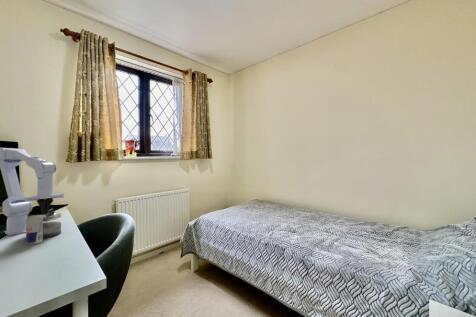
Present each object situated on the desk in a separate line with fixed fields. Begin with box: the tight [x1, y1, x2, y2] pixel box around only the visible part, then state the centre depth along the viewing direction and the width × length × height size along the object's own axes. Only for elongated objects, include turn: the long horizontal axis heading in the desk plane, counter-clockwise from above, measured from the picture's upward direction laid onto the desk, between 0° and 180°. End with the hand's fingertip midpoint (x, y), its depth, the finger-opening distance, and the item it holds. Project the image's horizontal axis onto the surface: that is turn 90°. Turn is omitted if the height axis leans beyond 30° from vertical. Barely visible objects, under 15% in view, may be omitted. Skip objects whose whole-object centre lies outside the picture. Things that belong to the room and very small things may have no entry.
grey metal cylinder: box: [26, 221, 62, 240], centre depth 107 cm, size 13×13×5 cm
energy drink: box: [25, 214, 44, 246], centre depth 97 cm, size 5×5×12 cm
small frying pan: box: [25, 210, 62, 224], centre depth 107 cm, size 19×13×1 cm
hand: (44, 214), depth 107 cm, fingers closed
